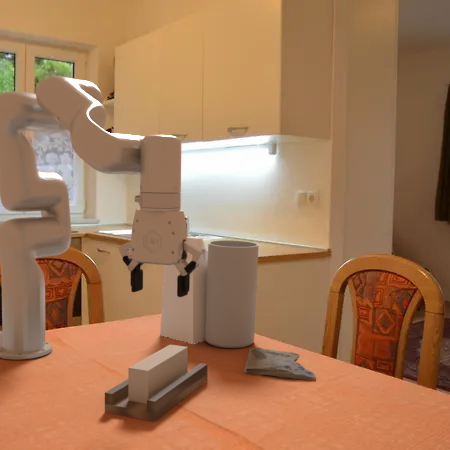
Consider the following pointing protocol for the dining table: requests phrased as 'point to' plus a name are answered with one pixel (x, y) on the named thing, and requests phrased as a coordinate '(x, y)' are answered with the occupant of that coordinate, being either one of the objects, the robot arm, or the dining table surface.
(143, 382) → the beige rectangular block
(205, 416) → the dining table surface
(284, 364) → the fossil rock
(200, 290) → the milk
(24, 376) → the dining table surface
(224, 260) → the cylinder vase
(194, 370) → the brown long channel piece
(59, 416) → the dining table surface
